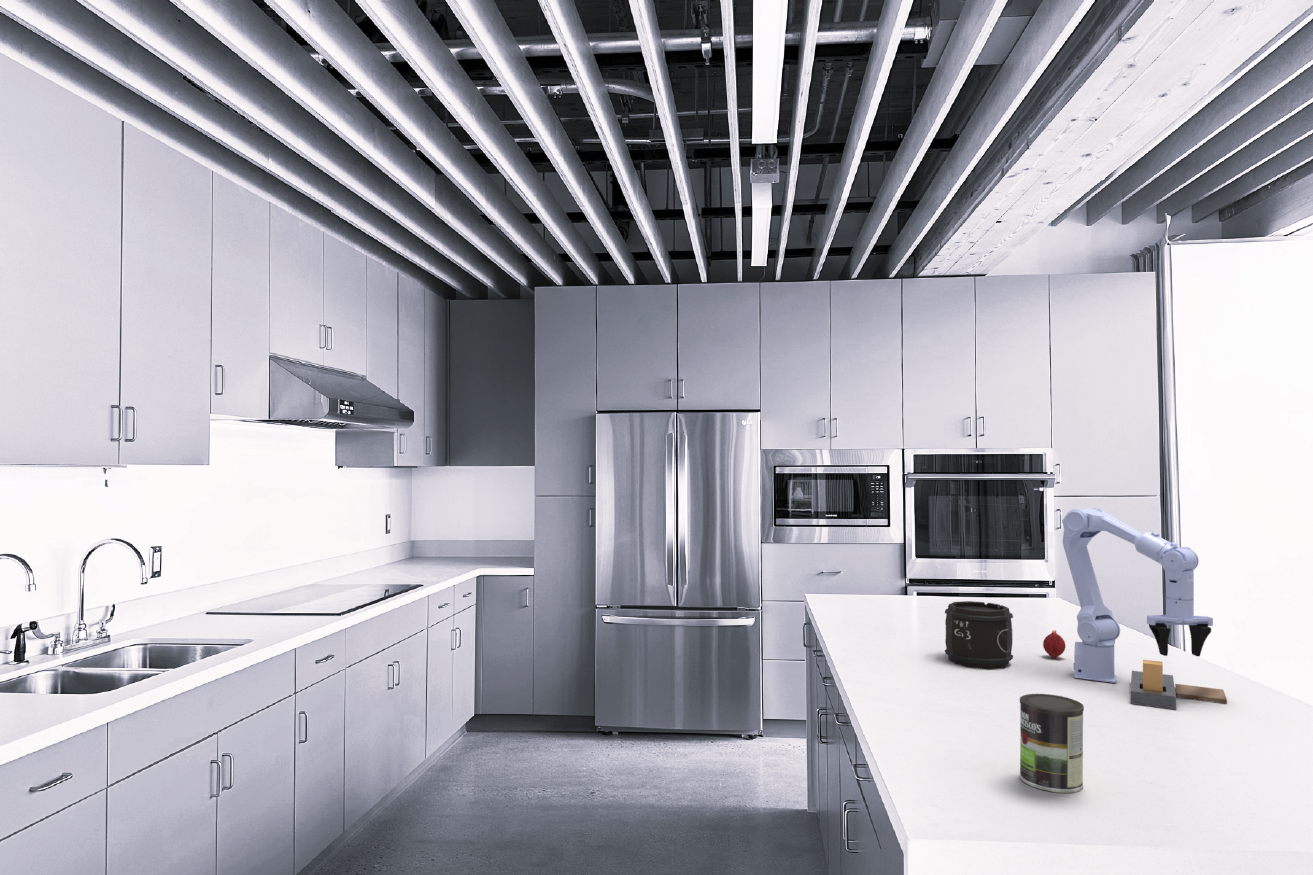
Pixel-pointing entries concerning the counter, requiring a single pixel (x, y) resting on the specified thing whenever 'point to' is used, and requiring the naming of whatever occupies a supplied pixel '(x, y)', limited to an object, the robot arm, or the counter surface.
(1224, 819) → the counter surface
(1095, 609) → the robot arm
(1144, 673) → the peg
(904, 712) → the counter surface
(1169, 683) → the grey slotted block
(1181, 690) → the board
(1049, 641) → the onion
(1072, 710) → the coffee can
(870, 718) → the counter surface
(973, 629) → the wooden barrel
